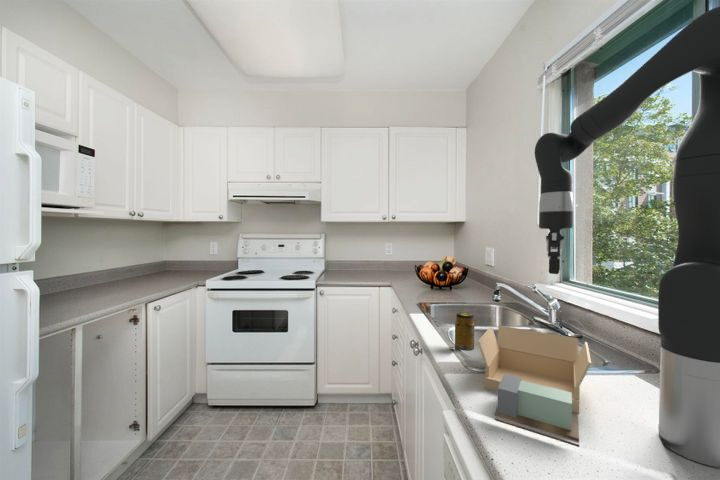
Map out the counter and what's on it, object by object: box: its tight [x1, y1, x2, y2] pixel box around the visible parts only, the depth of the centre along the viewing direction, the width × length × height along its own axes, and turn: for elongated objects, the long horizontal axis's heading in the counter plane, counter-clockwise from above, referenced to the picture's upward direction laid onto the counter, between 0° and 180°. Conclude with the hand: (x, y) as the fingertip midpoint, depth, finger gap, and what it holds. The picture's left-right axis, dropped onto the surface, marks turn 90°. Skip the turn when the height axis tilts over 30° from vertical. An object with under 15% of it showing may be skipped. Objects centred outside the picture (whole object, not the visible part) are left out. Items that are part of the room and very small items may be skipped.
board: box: [494, 408, 580, 448], centre depth 63 cm, size 14×9×2 cm, turn 56°
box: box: [496, 374, 573, 430], centre depth 63 cm, size 12×8×5 cm, turn 56°
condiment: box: [448, 311, 475, 352], centre depth 100 cm, size 7×8×12 cm
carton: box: [477, 325, 592, 415], centre depth 76 cm, size 22×18×12 cm
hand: (554, 272), depth 81 cm, fingers open, 8 cm apart
